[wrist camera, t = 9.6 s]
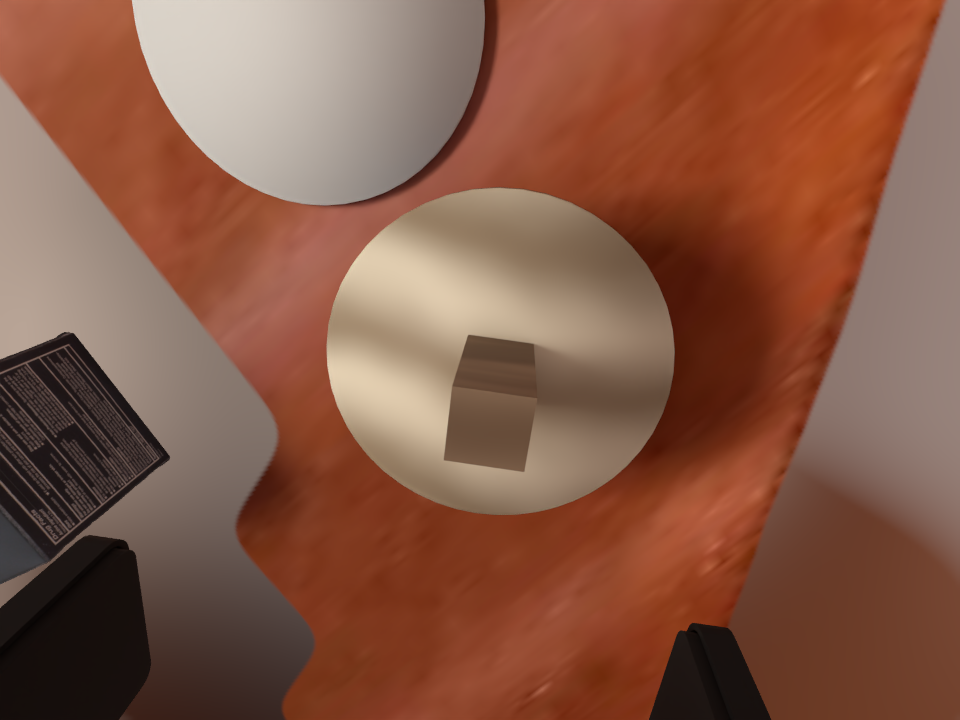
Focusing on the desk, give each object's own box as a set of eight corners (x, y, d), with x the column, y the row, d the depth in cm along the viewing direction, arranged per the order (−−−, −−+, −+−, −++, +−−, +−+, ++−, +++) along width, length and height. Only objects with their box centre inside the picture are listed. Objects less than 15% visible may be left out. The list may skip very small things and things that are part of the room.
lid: (338, 164, 23) (266, 165, 17) (709, 213, 23) (785, 234, 16) (329, 479, 29) (273, 572, 22) (627, 523, 28) (658, 631, 22)
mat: (120, -228, 25) (111, -237, 24) (508, -182, 24) (508, -191, 24) (155, 182, 31) (148, 182, 30) (463, 224, 31) (462, 225, 30)
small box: (4, 368, 36) (-189, 445, 26) (74, 327, 35) (-103, 393, 25) (106, 491, 39) (-33, 601, 29) (174, 457, 38) (52, 562, 28)
